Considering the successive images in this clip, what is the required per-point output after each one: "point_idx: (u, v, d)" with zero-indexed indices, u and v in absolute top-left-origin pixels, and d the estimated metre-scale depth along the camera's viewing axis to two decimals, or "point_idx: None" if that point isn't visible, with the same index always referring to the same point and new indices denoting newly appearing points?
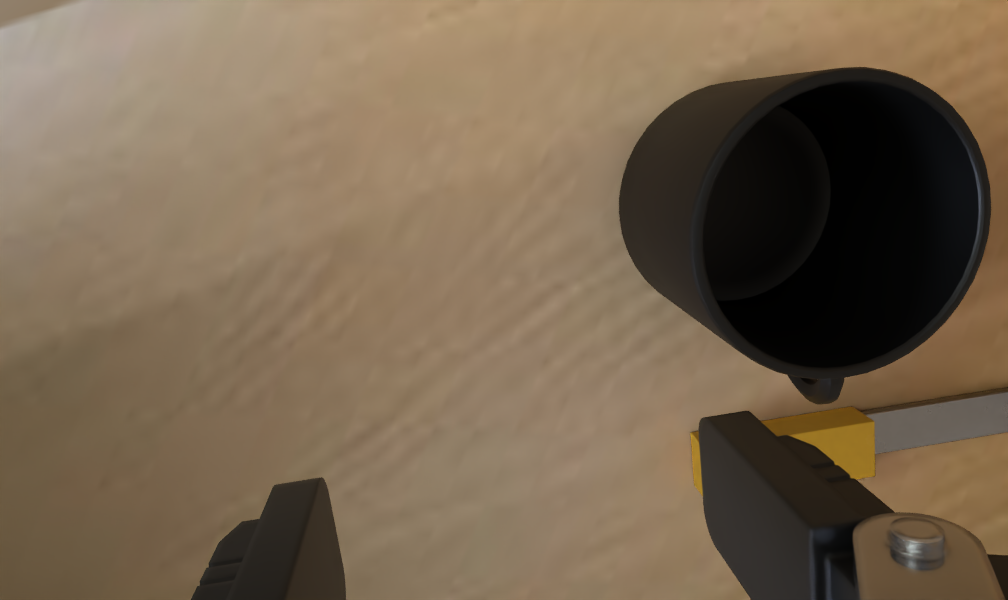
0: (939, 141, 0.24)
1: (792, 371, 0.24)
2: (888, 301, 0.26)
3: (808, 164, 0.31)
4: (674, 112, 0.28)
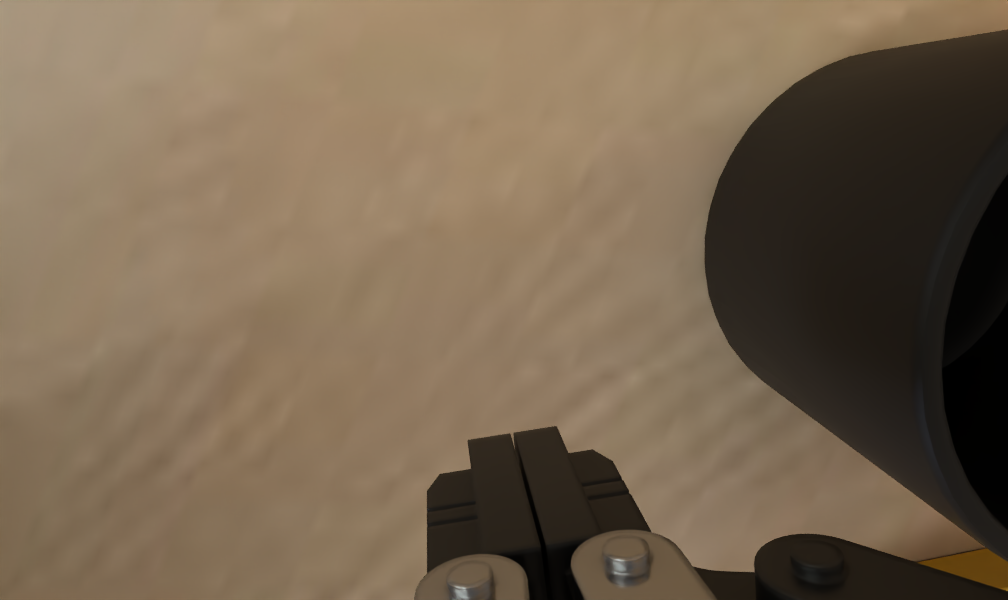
0: None
1: None
2: None
3: None
4: (805, 99, 0.17)
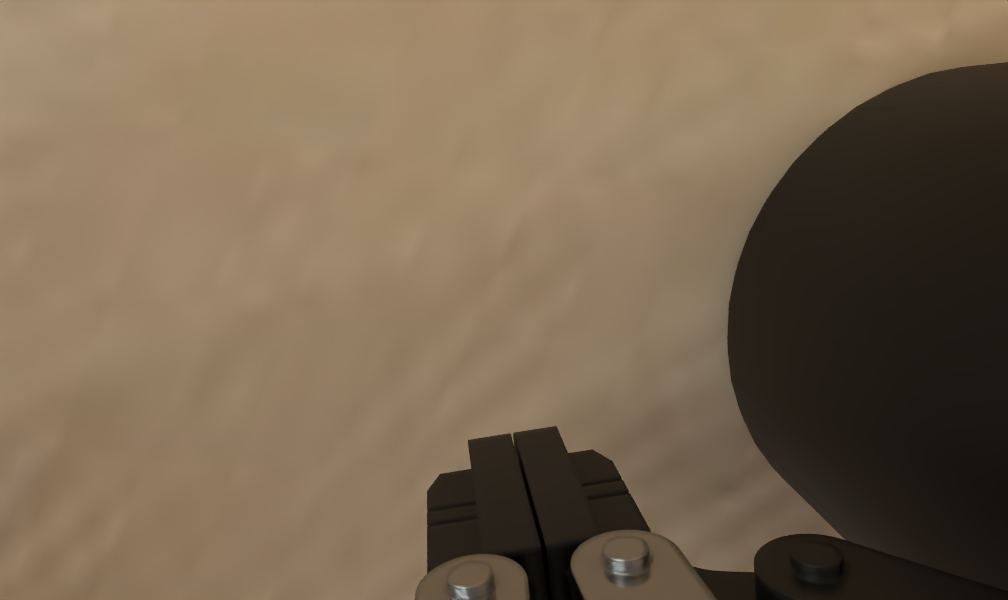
0: None
1: None
2: None
3: None
4: (877, 130, 0.12)
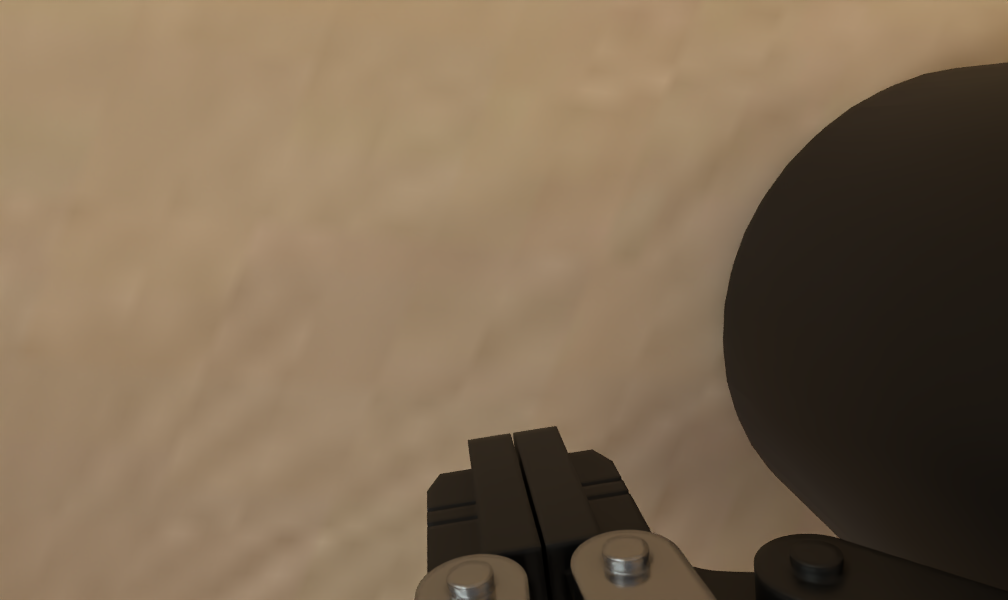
0: None
1: None
2: None
3: None
4: (872, 131, 0.12)
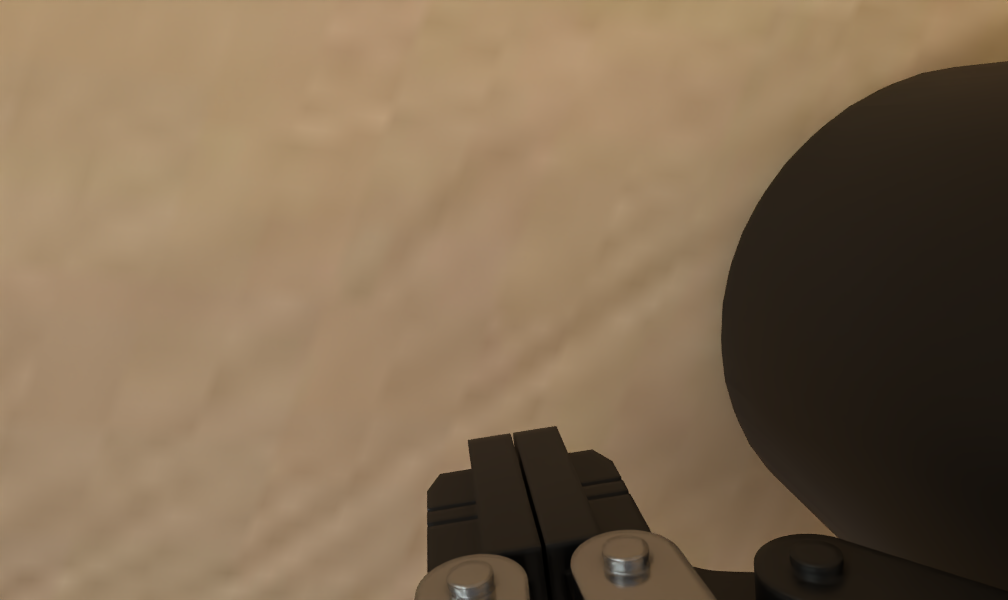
0: None
1: None
2: None
3: None
4: (870, 130, 0.12)
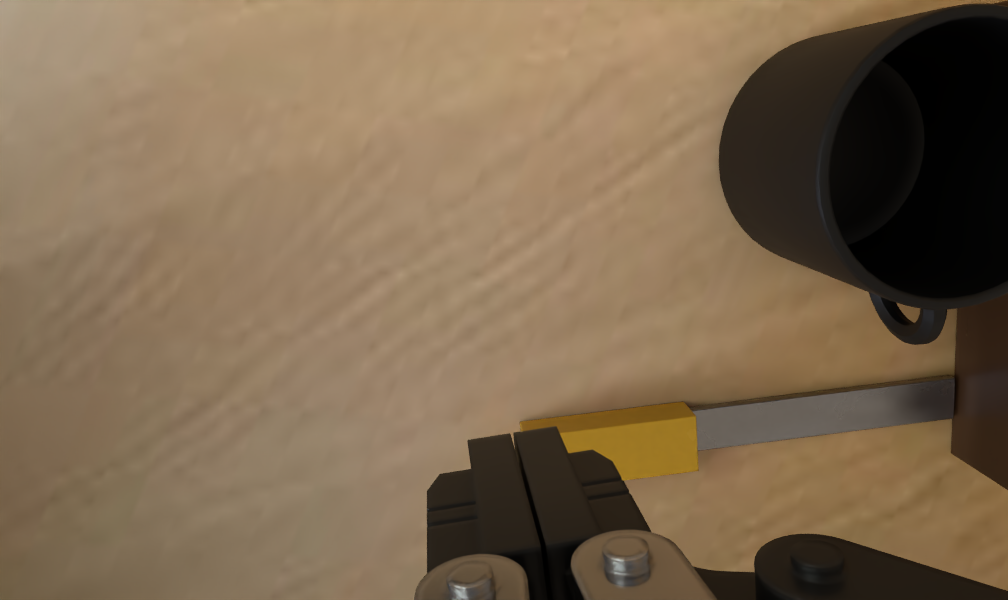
0: None
1: (907, 300, 0.25)
2: (993, 242, 0.27)
3: (904, 117, 0.32)
4: (782, 59, 0.29)
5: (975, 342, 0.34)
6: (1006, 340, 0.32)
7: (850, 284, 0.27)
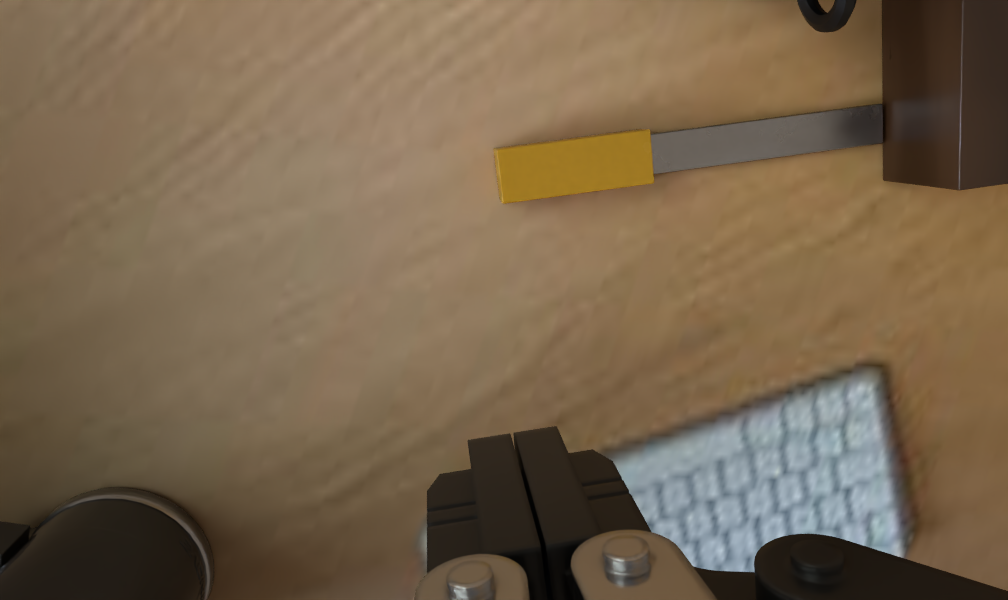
0: None
1: None
2: None
3: None
4: None
5: (897, 62, 0.38)
6: (921, 45, 0.36)
7: None
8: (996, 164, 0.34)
